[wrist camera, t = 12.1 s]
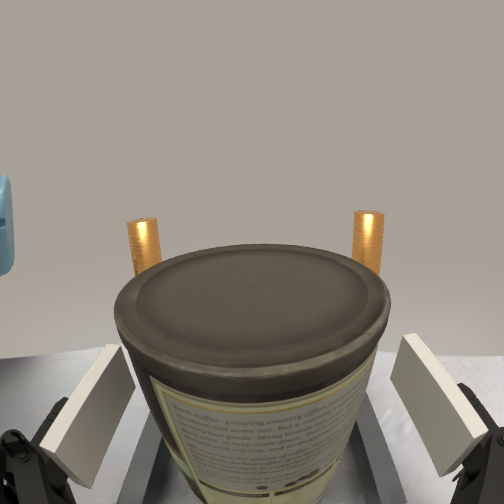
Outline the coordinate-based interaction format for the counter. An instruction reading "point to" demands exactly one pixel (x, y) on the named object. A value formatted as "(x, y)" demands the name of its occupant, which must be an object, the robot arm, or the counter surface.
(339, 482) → the keeper bracket
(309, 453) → the coffee can
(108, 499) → the counter surface
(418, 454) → the counter surface
